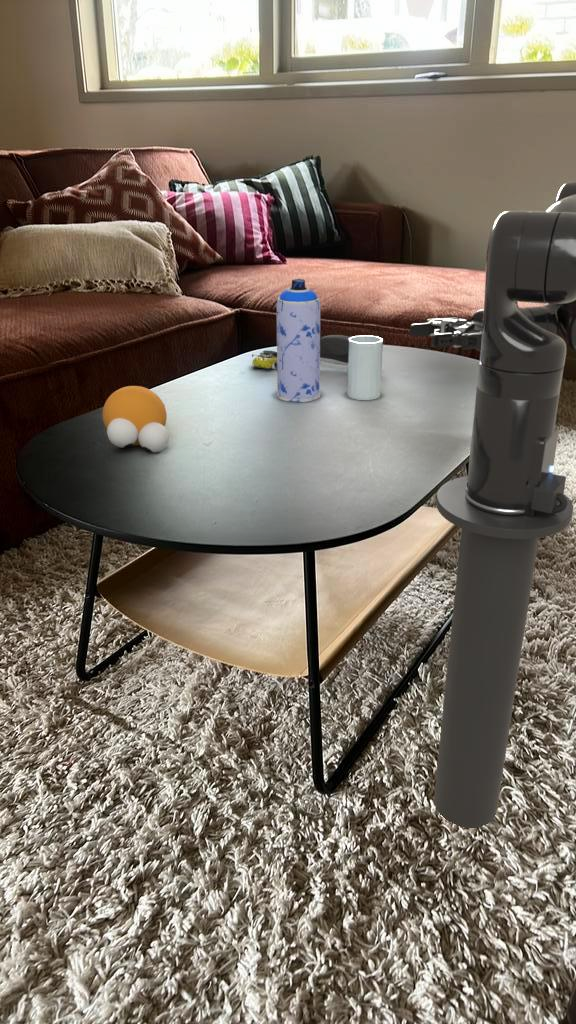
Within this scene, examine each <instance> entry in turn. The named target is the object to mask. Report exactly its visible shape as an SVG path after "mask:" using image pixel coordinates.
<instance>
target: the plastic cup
mask: <svg viewBox="0 0 576 1024" xmlns="http://www.w3.org/2000/svg"><path fill="white" fill-rule="evenodd" d="M350 337H351V338H349V348H348V365H347V388H346V389H347V390H346V392H347V397H348V398H350V399H352V400H356V401H357V400H359V401H373V400H376V399H379V398H380V397H381V394H382V391H381V390H382V371H383V349H384V348H383V347H384V339H383V338H382V337H379V336H377V337H376V336H375V335H355V336H350Z"/></svg>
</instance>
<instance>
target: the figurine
mask: <svg viewBox="0 0 576 1024" xmlns="http://www.w3.org/2000/svg"><path fill="white" fill-rule="evenodd" d="M374 336H376V337H378V334H375V335H374ZM351 337H352V336H348V335H343V334H329V335H324V336H321V337H320V362H322V363H326V364H330V365H331V364H332V365H339V366H348V348H349V338H351Z"/></svg>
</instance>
